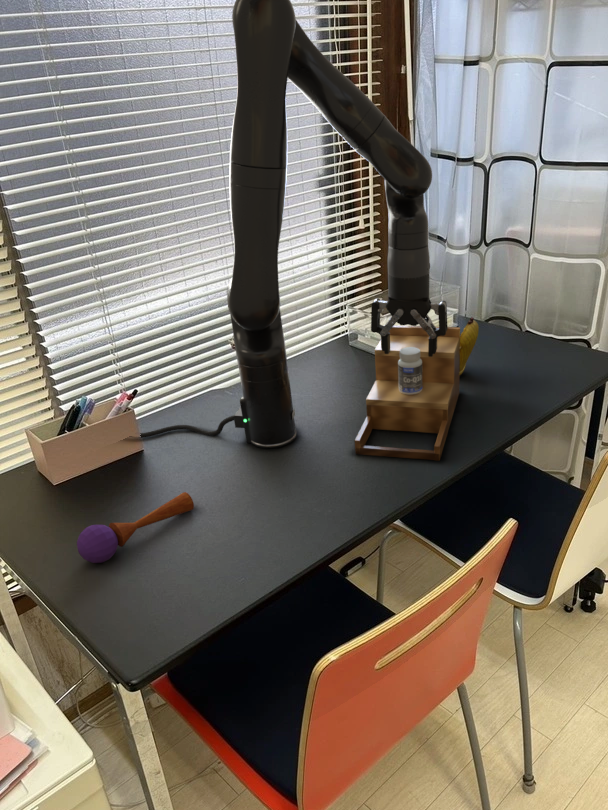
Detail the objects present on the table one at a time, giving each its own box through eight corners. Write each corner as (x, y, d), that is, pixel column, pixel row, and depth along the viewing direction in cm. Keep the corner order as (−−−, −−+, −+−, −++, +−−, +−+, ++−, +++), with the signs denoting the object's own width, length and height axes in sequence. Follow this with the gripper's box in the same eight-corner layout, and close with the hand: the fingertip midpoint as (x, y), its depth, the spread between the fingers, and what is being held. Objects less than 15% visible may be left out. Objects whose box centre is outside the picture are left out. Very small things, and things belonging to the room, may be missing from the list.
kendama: (198, 496, 118) (88, 548, 105) (198, 523, 121) (92, 576, 108) (177, 478, 121) (67, 527, 108) (177, 505, 124) (71, 555, 111)
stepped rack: (355, 454, 134) (350, 382, 126) (386, 389, 156) (383, 325, 148) (439, 460, 130) (439, 386, 122) (459, 393, 152) (460, 327, 144)
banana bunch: (486, 377, 158) (489, 312, 150) (461, 388, 154) (462, 323, 146) (449, 363, 166) (449, 301, 158) (424, 373, 162) (423, 310, 154)
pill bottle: (403, 397, 138) (402, 357, 133) (395, 387, 142) (394, 348, 137) (426, 392, 139) (425, 353, 134) (417, 383, 143) (417, 344, 138)
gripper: (365, 275, 126) (368, 359, 135) (444, 277, 123) (443, 363, 131) (374, 263, 132) (377, 344, 141) (450, 265, 129) (448, 348, 138)
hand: (409, 353), depth 136 cm, fingers open, 8 cm apart
